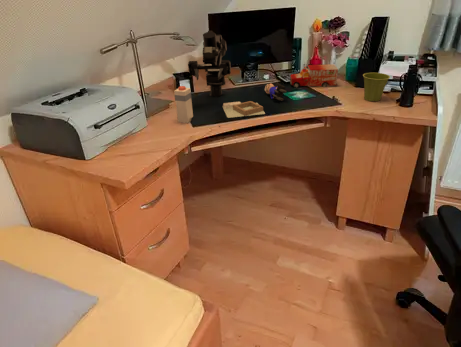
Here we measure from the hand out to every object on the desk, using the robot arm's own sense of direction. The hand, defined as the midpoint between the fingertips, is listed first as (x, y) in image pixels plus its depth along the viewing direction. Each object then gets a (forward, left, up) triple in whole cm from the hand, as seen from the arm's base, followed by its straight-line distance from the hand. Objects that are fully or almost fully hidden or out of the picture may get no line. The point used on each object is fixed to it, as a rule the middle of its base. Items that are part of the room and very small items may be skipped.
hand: (207, 78), depth 152 cm
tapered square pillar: (+4, -12, -16) cm, 20 cm away
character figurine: (-13, +34, -17) cm, 40 cm away
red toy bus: (-29, +60, -17) cm, 69 cm away
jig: (+2, +15, -16) cm, 22 cm away
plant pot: (+2, +78, -17) cm, 80 cm away
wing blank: (-4, +11, -15) cm, 19 cm away
